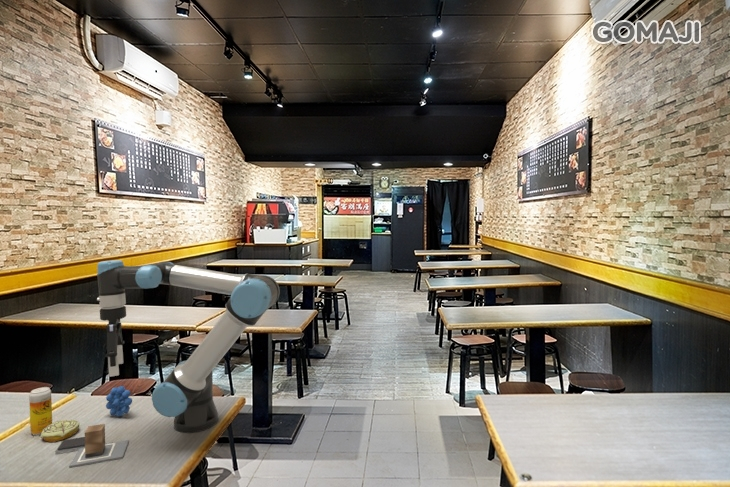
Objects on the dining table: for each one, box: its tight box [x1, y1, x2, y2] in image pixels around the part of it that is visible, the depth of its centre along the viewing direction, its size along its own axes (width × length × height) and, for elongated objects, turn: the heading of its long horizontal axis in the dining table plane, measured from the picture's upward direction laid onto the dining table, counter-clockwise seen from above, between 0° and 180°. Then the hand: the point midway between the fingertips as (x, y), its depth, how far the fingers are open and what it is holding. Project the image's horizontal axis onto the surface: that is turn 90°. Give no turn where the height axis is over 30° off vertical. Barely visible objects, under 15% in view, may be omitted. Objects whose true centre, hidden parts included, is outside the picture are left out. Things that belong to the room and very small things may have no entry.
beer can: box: [28, 386, 53, 436], centre depth 147 cm, size 6×6×15 cm
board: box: [68, 439, 130, 468], centre depth 132 cm, size 14×11×1 cm
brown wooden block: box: [84, 423, 106, 458], centre depth 132 cm, size 4×4×8 cm
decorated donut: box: [40, 419, 80, 443], centre depth 145 cm, size 10×11×4 cm
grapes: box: [105, 385, 133, 418], centre depth 159 cm, size 12×7×12 cm, turn 75°
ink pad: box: [54, 436, 85, 455], centre depth 137 cm, size 9×7×1 cm
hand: (116, 369), depth 140 cm, fingers open, 13 cm apart
